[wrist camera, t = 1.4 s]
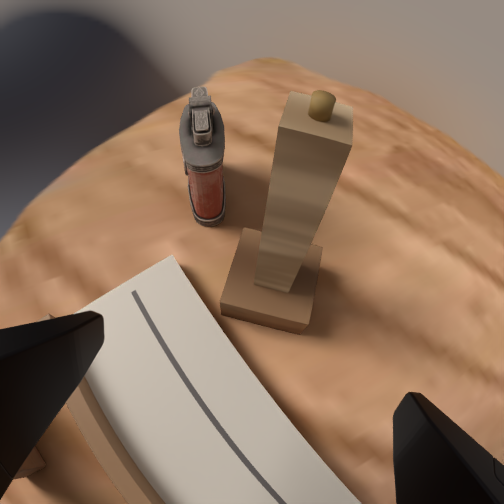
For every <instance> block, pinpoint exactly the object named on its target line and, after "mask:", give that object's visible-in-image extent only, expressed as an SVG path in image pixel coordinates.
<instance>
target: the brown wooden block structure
mask: <svg viewBox="0 0 504 504" xmlns="http://www.w3.org/2000/svg"><path fill="white" fill-rule="evenodd" d="M44 467H45V462H44V461H43V459H42V457H41V455H40V454H39V452H38V450H37V448H36V446H35V447H34V448H33V450H32V451H31V452H30V454H29V455H28V457H27V458H26V460H25V461H24V463H23V465H22V466H21V468H20V469H19V471H18V472H17V474H16V475H15V477H14V478H13V479H18V478H24V477H26V476H28V475H30V474H32V473H34V472H36V471H38V470H40V469H42V468H44Z"/></svg>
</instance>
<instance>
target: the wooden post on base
mask: <svg viewBox="0 0 504 504" xmlns="http://www.w3.org/2000/svg"><path fill="white" fill-rule="evenodd" d="M352 137H353V107H351V106H347V105H344V104H340V103H337V102H336V98H335V96H334V95H332V94H331V93H329V92H326V91H321V90H318V91H314V92H313V93H312V96H310V95H306V94H302V93H298V92H293V91H290V94H289V97H288V100H287V103H286V106H285V109H284V112H283V115H282V118H281V121H280V124H279V127H278V133H277V140H276V146H275V152H274V159H273V165H272V172H271V178H270V184H269V190H268V197H267V203H266V209H265V215H264V222H263V228H262V231H258V230H254V229H250V228H246V227H244V228H243V231H242V234H241V237H240V240H239V243H238V246H237V250H236V253H235V256H234V259H233V262H232V265H231V268H230V271H229V274H228V277H227V281H226V284H225V287H224V290H223V293H222V296H221V299H220V308H221V315H225V316H228V317H232V318H236V319H239V320H243V321H247V322H251V323H254V324H258V325H262V326H266V327H270V328H274V329H278V330H282V331H286V332H290V333H295V334H299V335H300V334H301V332H302V331H303V330H304V329H305V328H306V327H307V326H308V325H309V321H310V316H311V311H312V305H313V300H314V295H315V289H316V284H317V278H318V272H319V266H320V260H321V254H322V248H323V247H320V246H316V245H313V244H311V242H312V240H313V238H314V235H315V233H316V231H317V229H318V226H319V224H320V222H321V220H322V217H323V215H324V213H325V210H326V208H327V206H328V203H329V201H330V199H331V196H332V194H333V192H334V189H335V187H336V184H337V182H338V180H339V177H340V175H341V172H342V170H343V167H344V165H345V162H346V160H347V157H348V155H349V152H350V150H351V147H352Z"/></svg>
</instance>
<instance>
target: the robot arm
mask: <svg viewBox="0 0 504 504" xmlns="http://www.w3.org/2000/svg"><path fill="white" fill-rule="evenodd" d="M104 339H105V335H104V318H103V316H102V315H101V314H99V313H97V312H94V311H92V310H89V311H85V312H80V313H76V314H71V315H67V316H62V317H57V318H53V319H48V320H43V321H38V322H34V323H29V324H24V325H19V326H14V327H10V328H5V329H0V500H1V498H2V496H3V495H4V493H5V491H6V490H7V488H8V487H9V485H10V484H11V482H12V480H13V478H14V477H15V475H16V474H17V472H18V471H19V469H20V468H21V466H22V465H23V463H24V461H25V460H26V458H27V457H28V455H29V454H30V452H31V451H32V450H33V448H34V447H35V445H36V444H37V442H38V441H39V439H40V438H41V436H42V435H43V434H44V432H45V431H46V429H47V428H48V426H49V425H50V424H51V422H52V421H53V419H54V418H55V417H56V415H57V414H58V412H59V411H60V410H61V408H62V407H63V405H64V404H65V403H66V401H67V400H68V399H69V397H70V396H71V395H72V393H73V392H74V391H75V389H76V388H77V386H78V385H79V384H80V382H81V381H82V379H83V377H84V376H85V374H86V372H87V371H88V369H89V367H90V366H91V364H92V362H93V360H94V359H95V357H96V355H97V354H98V352H99V351H100V349H101V347H102V345H103V343H104ZM393 462H394V475H395V488H396V504H504V465H502V464H501V463H500V462H499V461H498V460H497V459H496V458H493V456H492V455H491V454H490V453H489V452H488V451H486V450H485V449H484V448H483V447H482V446H481V445H480V444H478V443H477V442H476V441H475V440H474V439H473V438H472V437H470V436H469V435H468V434H467V433H466V432H465V431H464V430H462V429H461V428H460V427H459V426H458V425H457V424H456V423H454V422H453V421H452V420H451V419H450V418H449V417H448V416H446V415H445V414H444V413H443V412H442V411H441V410H440V409H438V408H437V407H436V406H435V405H434V404H433V403H432V402H430V401H429V400H428V399H427V398H426V397H425V396H423V395H422V394H421V393H417V392H408V393H407V394H406V395H405V396H404V398H403V399H402V401H401V403H400V404H399V406H398V407H397V409H396V410H395V412H394V415H393Z"/></svg>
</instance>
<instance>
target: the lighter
mask: <svg viewBox="0 0 504 504" xmlns="http://www.w3.org/2000/svg"><path fill="white" fill-rule="evenodd" d="M191 92H192V97H191V98H189V104H188V105H186V106H185V108H184V110H183V113H182V116H181V120H180V128H179V134H180V143H181V150H182V154H183V162H184V168H185V174H186V175H187V176H188V191H189V198H190V204H191V208H192V211H193V215H194V218H195V220H196V222H197V223H198V224H200V225H202V226H210V227H211V226H215V225H217V224H219V223H220V222H221V221H222V220H223V218H224V214H225V204H226V196H225V181H224V177H223V169H222V163H223V157H224V149H225V136H224V124H223V121H222V118H221V114H220V112H219V110H218V108H217V107H216V105H215V104H214V103H213V102H211V96H208V93H207V88H206V87H195V88H193V89H192V91H191Z"/></svg>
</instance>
